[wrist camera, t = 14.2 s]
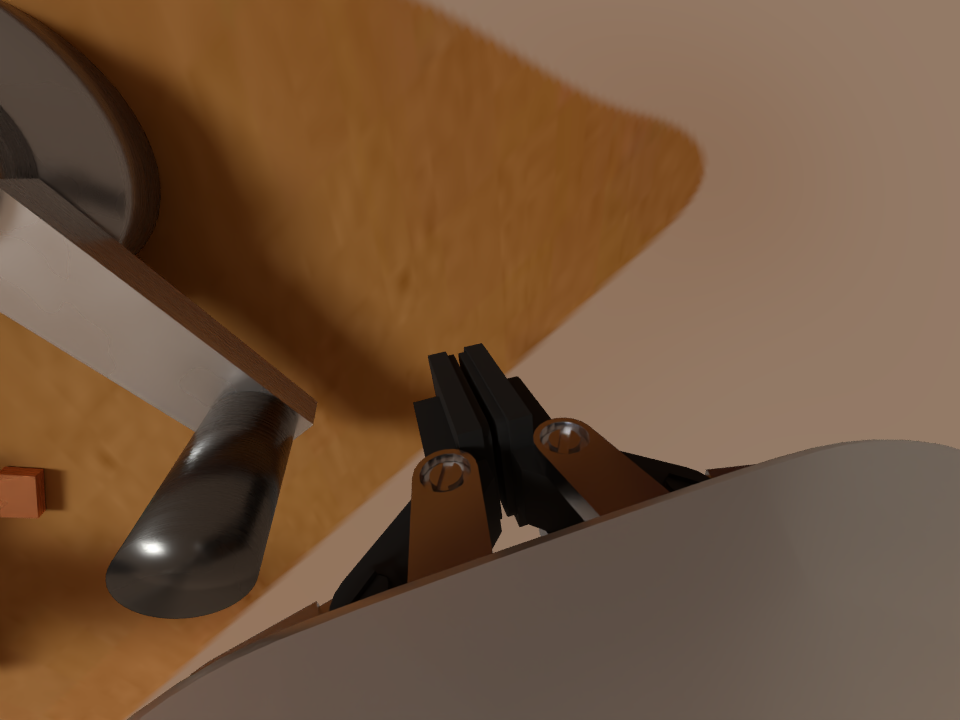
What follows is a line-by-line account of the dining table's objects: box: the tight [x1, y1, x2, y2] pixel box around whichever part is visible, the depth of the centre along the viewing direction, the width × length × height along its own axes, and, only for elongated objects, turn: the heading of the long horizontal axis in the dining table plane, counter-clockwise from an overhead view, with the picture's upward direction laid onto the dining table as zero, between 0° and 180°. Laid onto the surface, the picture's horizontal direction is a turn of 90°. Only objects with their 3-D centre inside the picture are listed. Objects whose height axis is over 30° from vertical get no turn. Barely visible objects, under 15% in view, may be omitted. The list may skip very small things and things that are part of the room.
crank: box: [0, 105, 317, 619], centre depth 7 cm, size 12×4×6 cm, turn 36°
